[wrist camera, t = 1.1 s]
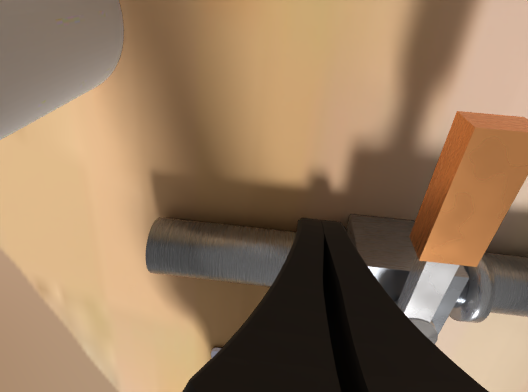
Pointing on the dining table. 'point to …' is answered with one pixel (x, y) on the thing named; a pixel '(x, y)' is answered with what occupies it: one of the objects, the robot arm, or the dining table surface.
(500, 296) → the valve pipe
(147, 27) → the dining table surface
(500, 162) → the valve lever
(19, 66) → the cup
